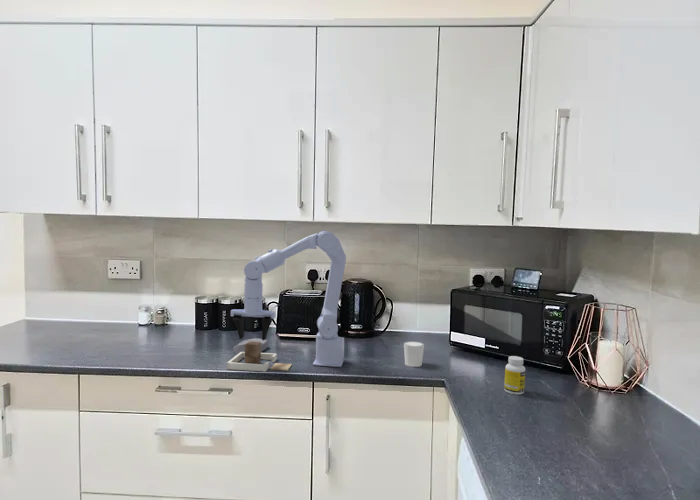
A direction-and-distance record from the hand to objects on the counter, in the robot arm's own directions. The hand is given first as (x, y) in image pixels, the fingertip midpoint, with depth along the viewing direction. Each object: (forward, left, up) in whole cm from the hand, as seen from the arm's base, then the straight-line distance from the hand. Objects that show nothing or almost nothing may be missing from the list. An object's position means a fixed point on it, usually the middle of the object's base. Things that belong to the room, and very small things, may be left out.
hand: (252, 338), depth 147 cm
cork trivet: (-10, +1, -8) cm, 13 cm away
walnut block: (0, 0, -9) cm, 9 cm away
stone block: (+6, -15, -9) cm, 18 cm away
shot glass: (-53, -10, -9) cm, 54 cm away
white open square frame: (0, 0, -8) cm, 8 cm away
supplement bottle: (-81, +10, -9) cm, 82 cm away
